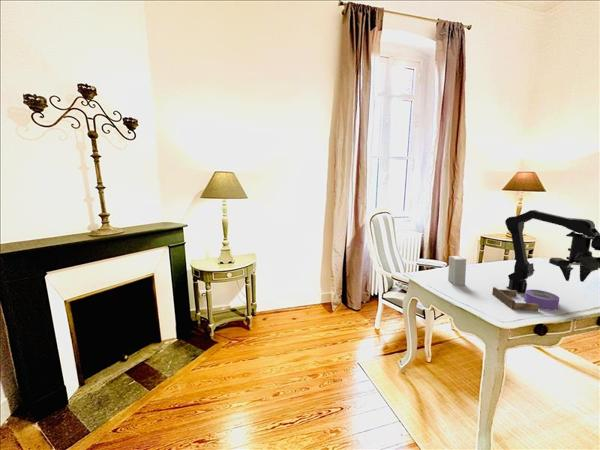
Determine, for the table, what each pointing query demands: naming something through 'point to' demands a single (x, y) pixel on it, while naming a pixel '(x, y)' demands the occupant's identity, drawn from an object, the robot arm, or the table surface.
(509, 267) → the table surface
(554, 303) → the tape roll
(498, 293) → the brown flat open tray
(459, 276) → the skincare box
